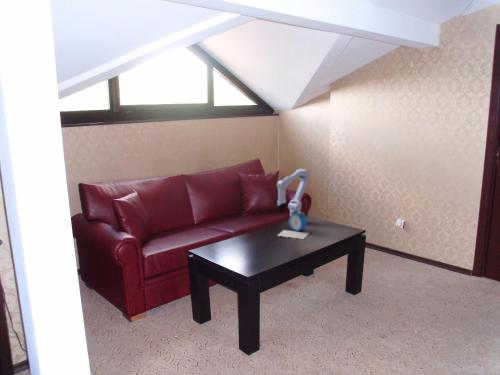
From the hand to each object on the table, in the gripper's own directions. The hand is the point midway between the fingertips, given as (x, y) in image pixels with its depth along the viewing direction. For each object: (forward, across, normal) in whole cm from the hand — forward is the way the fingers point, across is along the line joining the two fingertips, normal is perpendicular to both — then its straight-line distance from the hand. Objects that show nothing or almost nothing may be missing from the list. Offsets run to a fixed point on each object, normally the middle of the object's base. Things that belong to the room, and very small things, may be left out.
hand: (281, 212), depth 323 cm
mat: (+11, +19, +16) cm, 27 cm away
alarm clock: (+10, +8, +16) cm, 21 cm away
